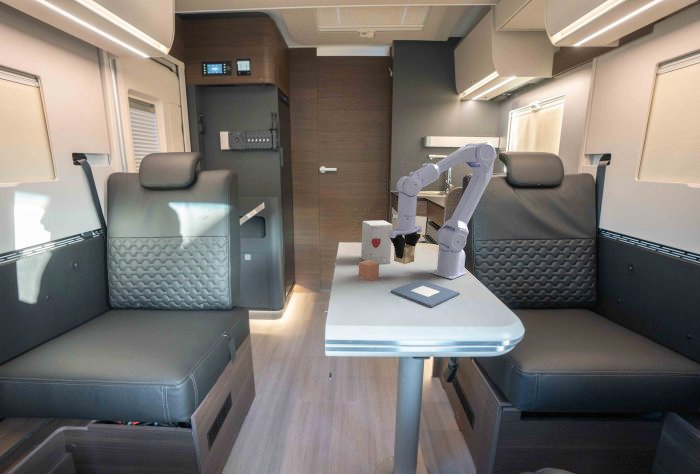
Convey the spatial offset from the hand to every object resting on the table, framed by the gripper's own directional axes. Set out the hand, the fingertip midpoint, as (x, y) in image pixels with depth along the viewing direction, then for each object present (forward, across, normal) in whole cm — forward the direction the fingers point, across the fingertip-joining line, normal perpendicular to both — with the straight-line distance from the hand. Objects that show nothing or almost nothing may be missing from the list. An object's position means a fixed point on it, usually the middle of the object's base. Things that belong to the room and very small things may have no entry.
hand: (404, 256), depth 109 cm
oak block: (+2, 0, 0) cm, 2 cm away
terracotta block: (+7, +9, -7) cm, 14 cm away
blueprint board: (+7, +6, +13) cm, 16 cm away
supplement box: (+7, -6, -18) cm, 20 cm away
